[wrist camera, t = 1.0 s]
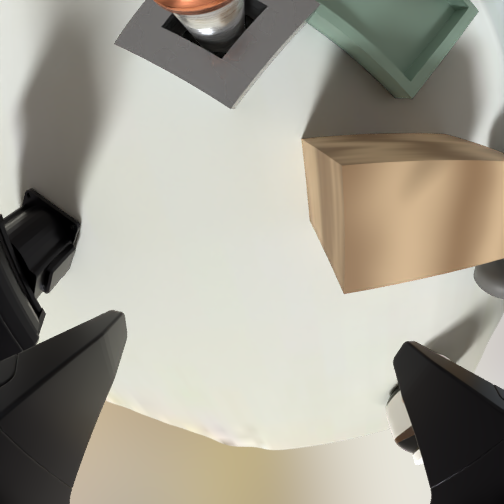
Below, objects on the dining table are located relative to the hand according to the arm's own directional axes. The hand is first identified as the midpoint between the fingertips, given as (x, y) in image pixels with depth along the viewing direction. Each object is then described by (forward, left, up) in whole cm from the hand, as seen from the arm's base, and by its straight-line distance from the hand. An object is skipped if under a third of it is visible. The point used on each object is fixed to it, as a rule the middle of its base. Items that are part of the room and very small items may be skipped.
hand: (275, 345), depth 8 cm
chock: (+6, +7, -14) cm, 17 cm away
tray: (-3, +18, -14) cm, 23 cm away
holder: (-9, +8, -14) cm, 18 cm away
